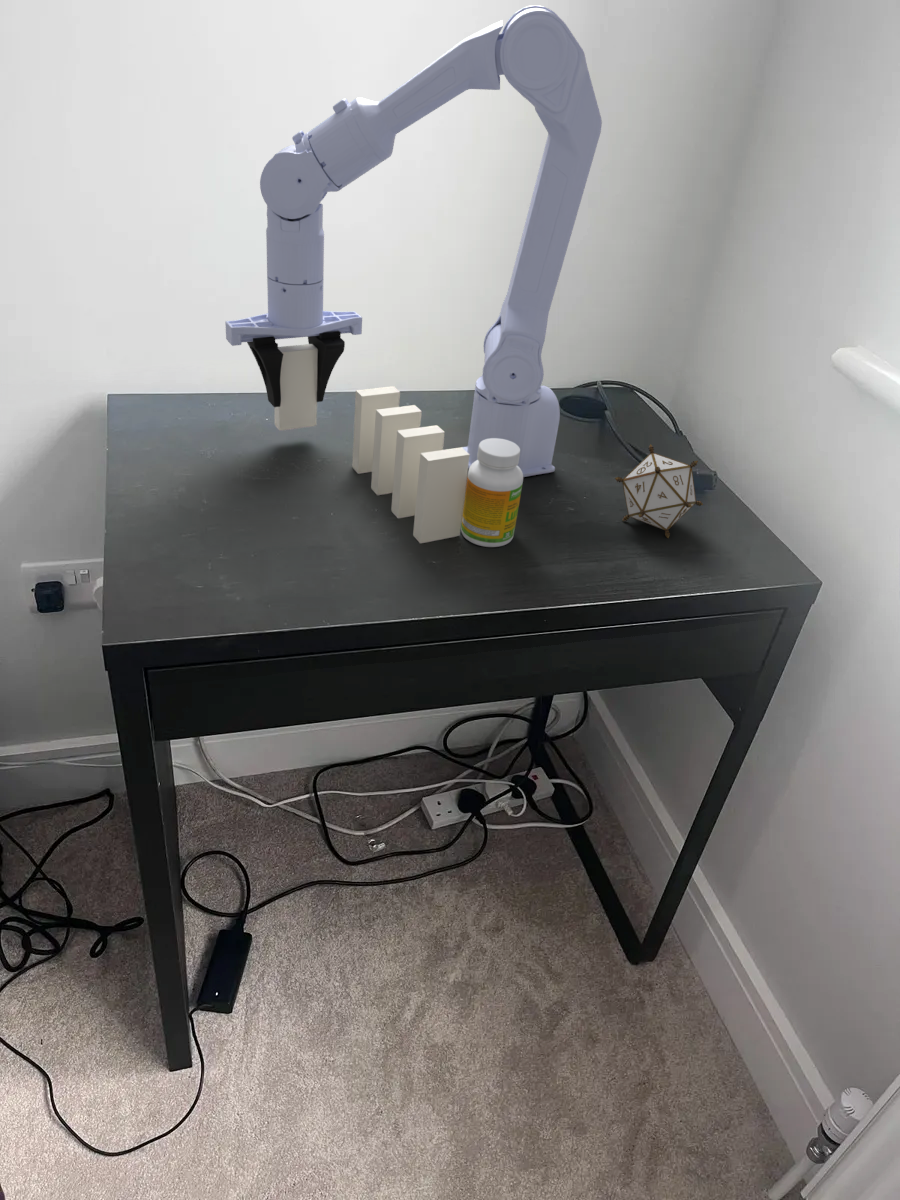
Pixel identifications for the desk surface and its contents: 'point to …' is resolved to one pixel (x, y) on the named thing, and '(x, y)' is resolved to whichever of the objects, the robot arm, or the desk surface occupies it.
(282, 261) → the robot arm
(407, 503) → the domino
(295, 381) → the domino
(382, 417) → the domino
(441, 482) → the domino
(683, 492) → the game die
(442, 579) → the desk surface
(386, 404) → the domino
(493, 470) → the supplement bottle
